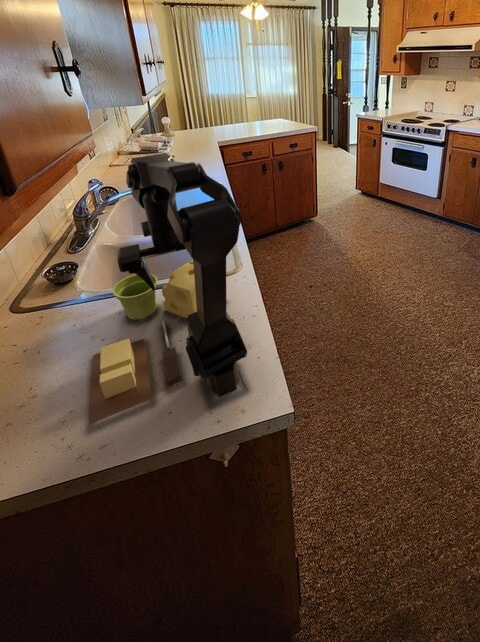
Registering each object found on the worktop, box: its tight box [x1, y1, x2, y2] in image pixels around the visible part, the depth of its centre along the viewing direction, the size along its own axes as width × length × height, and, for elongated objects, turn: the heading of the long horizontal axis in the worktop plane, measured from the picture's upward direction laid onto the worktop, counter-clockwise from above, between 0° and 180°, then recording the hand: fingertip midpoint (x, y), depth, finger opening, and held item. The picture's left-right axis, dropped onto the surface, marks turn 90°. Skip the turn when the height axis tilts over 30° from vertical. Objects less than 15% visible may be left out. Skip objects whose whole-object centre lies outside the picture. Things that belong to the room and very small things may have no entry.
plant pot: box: [112, 273, 158, 320], centre depth 83 cm, size 9×9×9 cm
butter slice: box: [100, 364, 136, 399], centre depth 64 cm, size 2×5×4 cm, turn 120°
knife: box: [160, 316, 183, 386], centre depth 73 cm, size 18×2×3 cm, turn 29°
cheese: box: [161, 260, 197, 319], centre depth 85 cm, size 10×11×10 cm
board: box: [88, 338, 153, 425], centre depth 67 cm, size 17×10×1 cm, turn 29°
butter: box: [100, 338, 135, 374], centre depth 68 cm, size 6×5×4 cm
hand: (177, 283), depth 76 cm, fingers open, 9 cm apart
